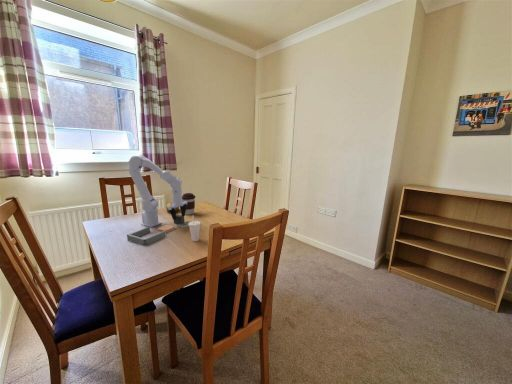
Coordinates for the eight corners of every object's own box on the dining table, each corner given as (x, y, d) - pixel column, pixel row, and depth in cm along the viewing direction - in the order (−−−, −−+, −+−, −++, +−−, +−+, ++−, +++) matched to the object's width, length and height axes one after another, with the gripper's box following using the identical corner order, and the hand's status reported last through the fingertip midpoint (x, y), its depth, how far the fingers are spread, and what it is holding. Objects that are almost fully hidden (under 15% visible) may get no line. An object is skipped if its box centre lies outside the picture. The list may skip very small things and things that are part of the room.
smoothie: (190, 237, 119) (189, 213, 116) (202, 237, 120) (201, 213, 117) (188, 242, 113) (186, 217, 110) (200, 242, 114) (199, 217, 111)
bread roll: (178, 213, 159) (177, 203, 158) (164, 214, 158) (163, 203, 156) (180, 208, 172) (180, 199, 170) (167, 209, 170) (167, 199, 168)
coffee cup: (198, 212, 163) (197, 193, 160) (190, 216, 154) (189, 196, 151) (187, 210, 166) (186, 192, 163) (179, 214, 157) (178, 194, 154)
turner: (170, 224, 138) (169, 216, 137) (179, 220, 145) (179, 213, 144) (183, 227, 133) (182, 219, 132) (192, 223, 140) (191, 215, 139)
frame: (127, 239, 115) (126, 234, 114) (148, 231, 126) (148, 226, 126) (145, 245, 109) (144, 240, 108) (165, 236, 121) (165, 231, 120)
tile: (157, 231, 128) (156, 228, 127) (166, 227, 134) (166, 224, 133) (165, 233, 125) (165, 230, 124) (174, 229, 131) (174, 226, 130)
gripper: (173, 200, 128) (174, 222, 131) (190, 195, 141) (191, 215, 144) (164, 199, 131) (166, 220, 134) (182, 194, 144) (183, 213, 147)
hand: (178, 217), depth 139 cm, fingers open, 7 cm apart
